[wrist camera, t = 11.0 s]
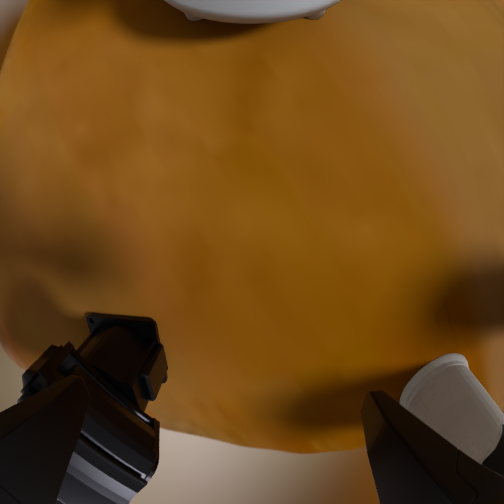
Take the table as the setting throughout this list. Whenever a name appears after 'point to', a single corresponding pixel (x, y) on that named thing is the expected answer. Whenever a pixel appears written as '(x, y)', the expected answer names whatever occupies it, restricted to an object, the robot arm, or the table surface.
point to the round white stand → (252, 10)
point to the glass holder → (458, 409)
